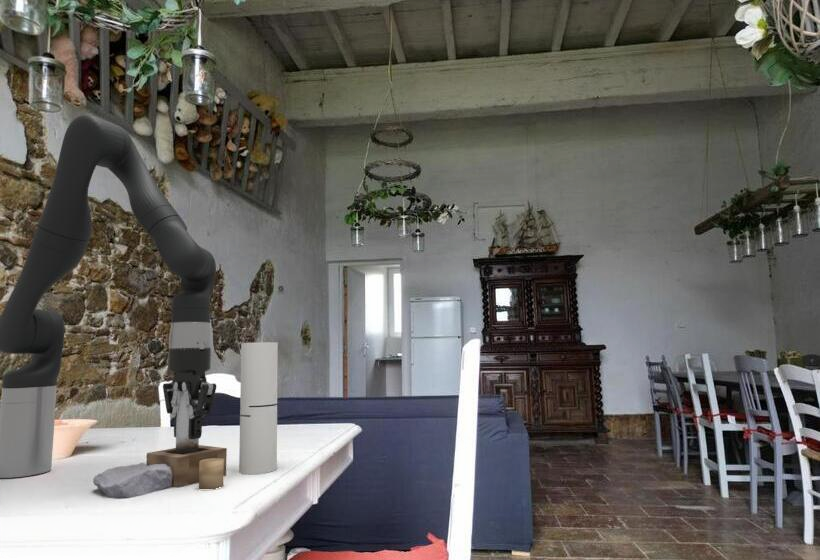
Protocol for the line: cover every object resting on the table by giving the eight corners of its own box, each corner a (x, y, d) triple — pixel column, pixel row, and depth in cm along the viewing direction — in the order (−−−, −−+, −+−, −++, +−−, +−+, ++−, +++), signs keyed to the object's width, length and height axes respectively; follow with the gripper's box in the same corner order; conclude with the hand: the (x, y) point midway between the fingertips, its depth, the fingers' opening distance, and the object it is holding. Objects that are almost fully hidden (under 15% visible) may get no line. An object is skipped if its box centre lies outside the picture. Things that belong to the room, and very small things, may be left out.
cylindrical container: (271, 473, 100) (272, 342, 104) (233, 474, 101) (236, 343, 104) (280, 465, 108) (281, 342, 111) (246, 466, 108) (248, 343, 111)
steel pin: (170, 473, 98) (173, 391, 100) (189, 468, 102) (191, 389, 104) (183, 475, 96) (185, 391, 98) (202, 470, 99) (204, 389, 101)
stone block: (124, 512, 84) (179, 485, 93) (118, 483, 84) (174, 458, 93) (85, 506, 91) (140, 481, 99) (80, 478, 91) (135, 456, 99)
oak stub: (193, 488, 91) (194, 461, 92) (213, 483, 94) (214, 457, 95) (208, 491, 89) (209, 463, 90) (228, 485, 92) (228, 459, 93)
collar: (145, 481, 97) (146, 453, 98) (193, 470, 106) (194, 444, 106) (178, 487, 92) (179, 457, 93) (226, 475, 100) (226, 448, 101)
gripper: (150, 347, 103) (147, 438, 100) (195, 345, 95) (192, 443, 93) (185, 347, 109) (182, 432, 107) (230, 345, 101) (228, 437, 99)
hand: (187, 437), depth 100 cm, fingers closed on steel pin, 4 cm apart
